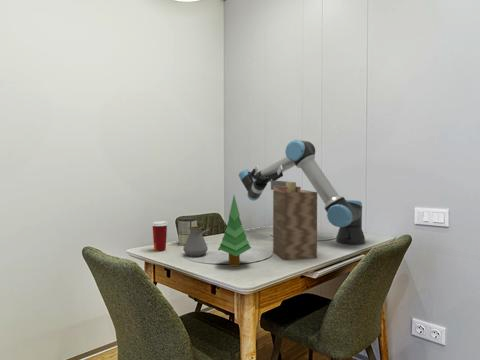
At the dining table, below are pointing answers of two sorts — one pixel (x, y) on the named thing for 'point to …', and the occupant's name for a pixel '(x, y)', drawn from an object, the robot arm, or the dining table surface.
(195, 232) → the coffee pot
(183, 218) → the coffee can
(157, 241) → the paper cup
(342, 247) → the dining table surface
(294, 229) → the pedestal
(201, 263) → the dining table surface
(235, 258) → the decorative tree
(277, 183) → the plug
